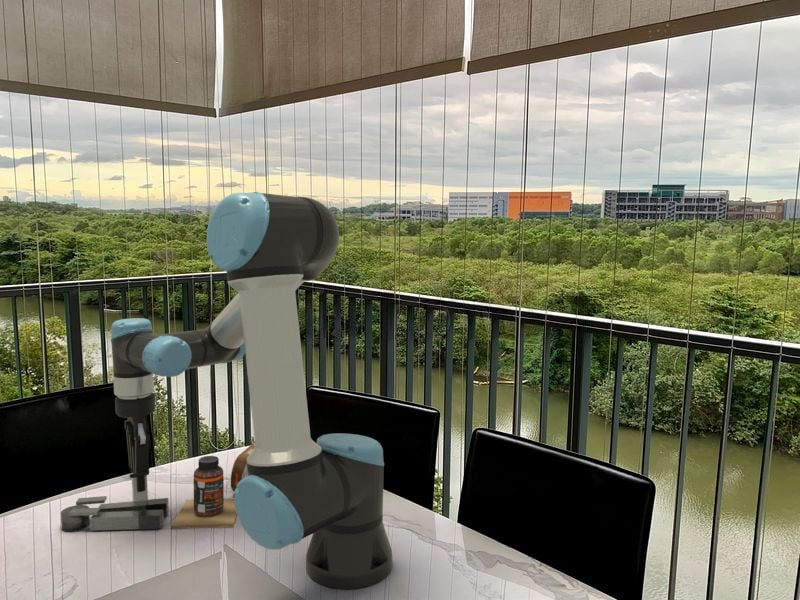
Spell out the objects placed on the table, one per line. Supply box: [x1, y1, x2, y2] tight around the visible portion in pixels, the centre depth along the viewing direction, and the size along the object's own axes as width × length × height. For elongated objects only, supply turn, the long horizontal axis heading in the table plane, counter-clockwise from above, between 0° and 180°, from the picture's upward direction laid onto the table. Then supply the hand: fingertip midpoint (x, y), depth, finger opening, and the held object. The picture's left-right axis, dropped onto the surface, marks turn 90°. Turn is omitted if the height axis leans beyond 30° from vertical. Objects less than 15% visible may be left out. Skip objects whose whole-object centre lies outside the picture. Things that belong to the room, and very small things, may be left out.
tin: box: [230, 444, 255, 492], centre depth 141 cm, size 15×3×8 cm, turn 172°
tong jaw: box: [75, 495, 170, 517], centre depth 123 cm, size 17×3×4 cm, turn 103°
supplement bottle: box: [193, 455, 225, 517], centre depth 125 cm, size 6×6×11 cm
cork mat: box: [170, 498, 238, 530], centre depth 126 cm, size 12×12×1 cm
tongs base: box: [60, 504, 165, 533], centre depth 120 cm, size 5×20×4 cm, turn 95°
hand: (140, 504), depth 126 cm, fingers closed
